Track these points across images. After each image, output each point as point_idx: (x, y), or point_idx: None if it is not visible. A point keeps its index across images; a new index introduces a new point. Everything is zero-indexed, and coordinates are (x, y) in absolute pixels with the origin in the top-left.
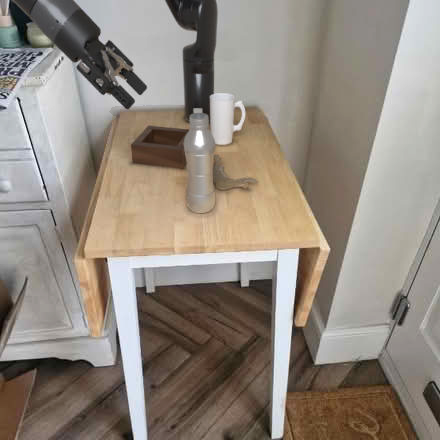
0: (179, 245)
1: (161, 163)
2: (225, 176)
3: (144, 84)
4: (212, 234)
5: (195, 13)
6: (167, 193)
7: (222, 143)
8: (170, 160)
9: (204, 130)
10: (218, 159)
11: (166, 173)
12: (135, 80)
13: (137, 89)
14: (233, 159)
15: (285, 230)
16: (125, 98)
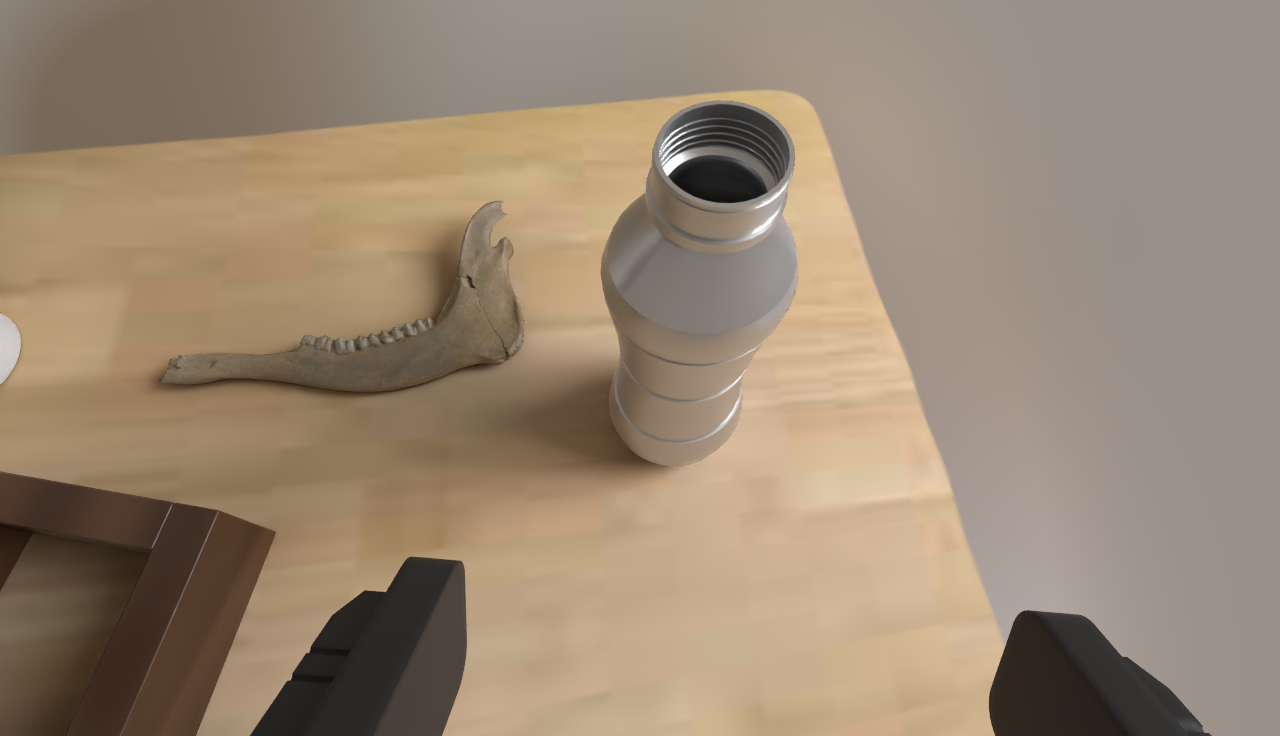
0: (941, 475)
1: (217, 657)
2: (422, 323)
3: (424, 580)
4: (844, 366)
5: None
6: (539, 579)
7: (14, 351)
8: (228, 596)
9: (751, 178)
10: (227, 359)
11: (318, 616)
12: (395, 731)
13: (441, 700)
14: (208, 304)
15: None
16: (1198, 724)
